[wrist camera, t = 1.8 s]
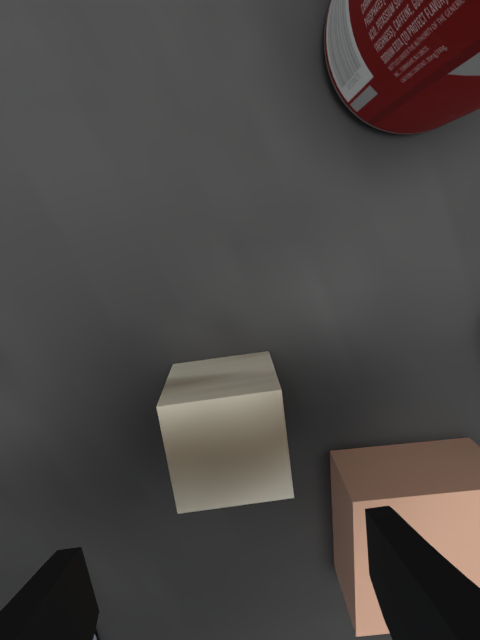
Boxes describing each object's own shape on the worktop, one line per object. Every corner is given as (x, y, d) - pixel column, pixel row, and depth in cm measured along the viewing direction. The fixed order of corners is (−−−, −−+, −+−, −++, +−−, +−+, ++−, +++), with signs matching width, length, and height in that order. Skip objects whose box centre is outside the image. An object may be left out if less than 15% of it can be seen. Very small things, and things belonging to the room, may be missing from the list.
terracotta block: (460, 550, 22) (511, 621, 18) (333, 562, 22) (356, 636, 18) (466, 434, 20) (523, 485, 16) (328, 448, 20) (352, 502, 16)
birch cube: (279, 436, 20) (294, 497, 15) (188, 449, 20) (177, 513, 15) (268, 350, 18) (281, 389, 14) (173, 363, 19) (156, 406, 14)
